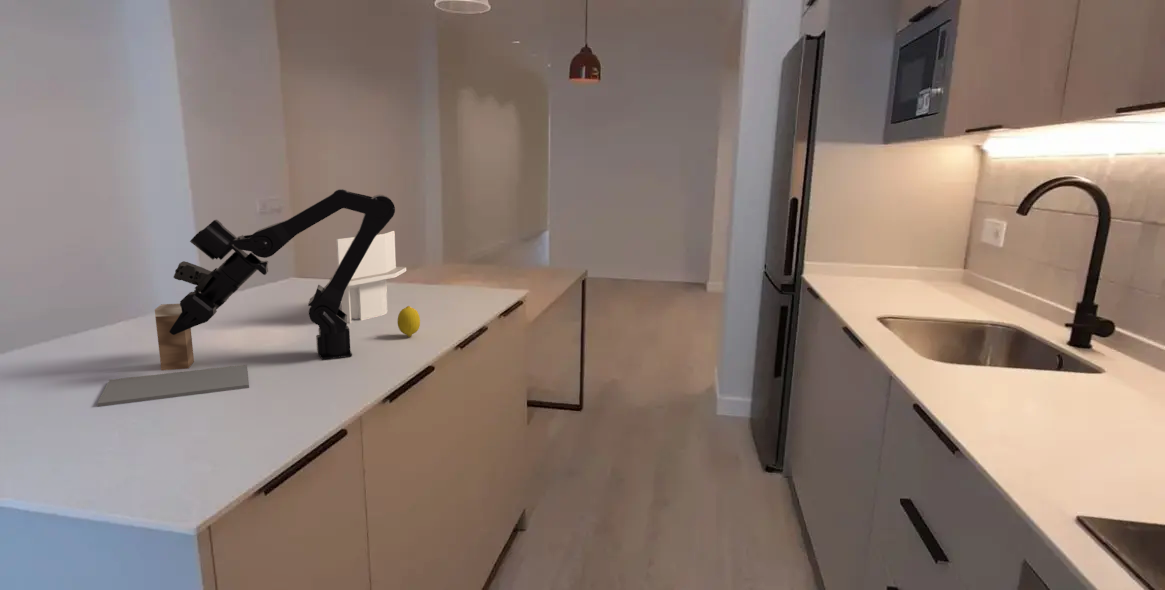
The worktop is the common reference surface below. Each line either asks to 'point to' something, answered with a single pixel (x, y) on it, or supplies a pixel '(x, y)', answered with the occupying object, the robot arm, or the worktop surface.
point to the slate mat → (174, 385)
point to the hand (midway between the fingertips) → (176, 327)
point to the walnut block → (173, 339)
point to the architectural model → (369, 277)
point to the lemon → (408, 321)
